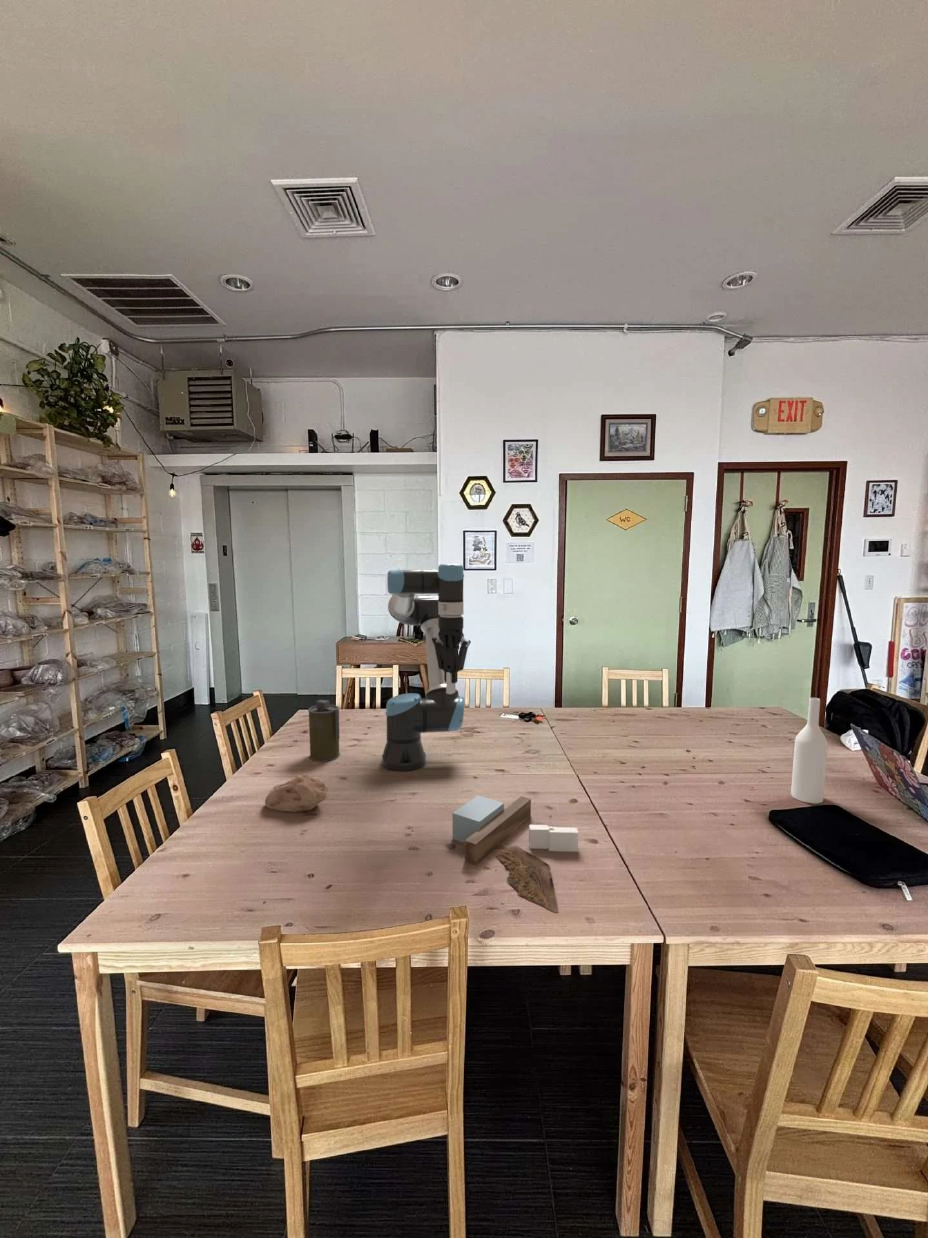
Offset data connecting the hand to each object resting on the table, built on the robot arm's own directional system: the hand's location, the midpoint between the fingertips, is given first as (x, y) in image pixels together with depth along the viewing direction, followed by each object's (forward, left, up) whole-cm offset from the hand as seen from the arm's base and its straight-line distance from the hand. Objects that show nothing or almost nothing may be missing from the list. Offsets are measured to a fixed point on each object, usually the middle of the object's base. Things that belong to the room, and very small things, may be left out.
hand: (450, 692), depth 164 cm
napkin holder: (+41, -15, -30) cm, 53 cm away
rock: (-28, -36, -30) cm, 55 cm away
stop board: (+28, -18, -29) cm, 44 cm away
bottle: (+92, +52, -30) cm, 110 cm away
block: (+22, -20, -30) cm, 42 cm away
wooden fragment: (+42, -29, -30) cm, 59 cm away
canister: (-51, -5, -30) cm, 59 cm away
